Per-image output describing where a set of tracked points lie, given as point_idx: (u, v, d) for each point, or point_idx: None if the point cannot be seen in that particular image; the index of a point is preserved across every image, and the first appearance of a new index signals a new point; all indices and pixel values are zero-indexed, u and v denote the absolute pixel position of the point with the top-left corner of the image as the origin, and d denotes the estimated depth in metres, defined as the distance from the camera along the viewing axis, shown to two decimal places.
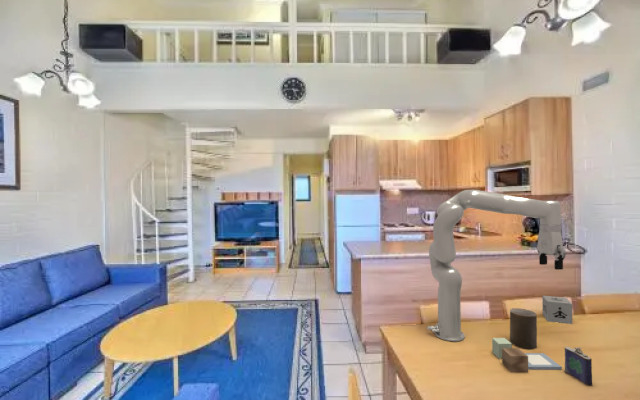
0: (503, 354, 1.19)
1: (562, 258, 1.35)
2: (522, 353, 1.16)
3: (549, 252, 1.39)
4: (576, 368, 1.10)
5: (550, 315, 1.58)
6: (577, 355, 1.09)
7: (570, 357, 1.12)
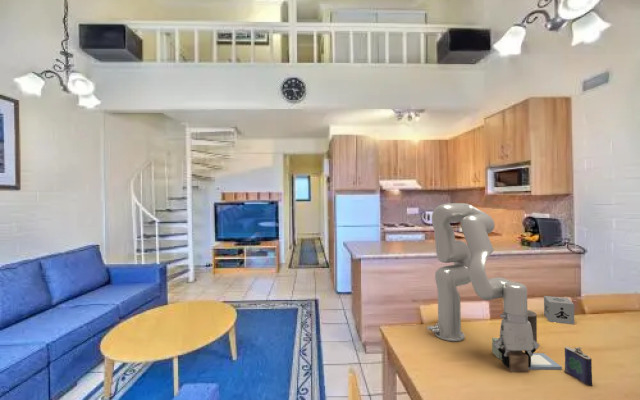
0: None
1: None
2: (522, 353, 1.16)
3: (529, 347, 1.14)
4: (576, 368, 1.10)
5: (552, 316, 1.57)
6: (577, 355, 1.09)
7: (570, 357, 1.12)
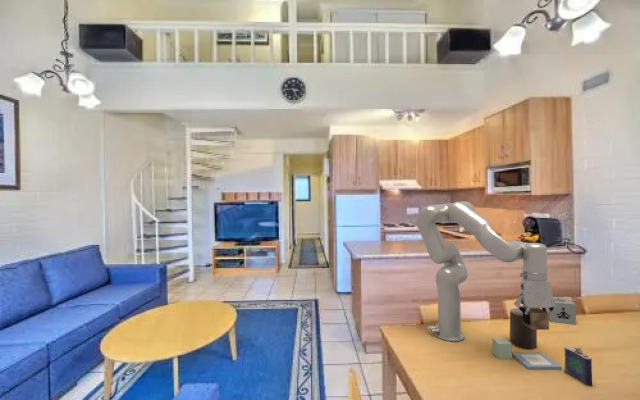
0: None
1: None
2: (543, 311, 1.19)
3: (549, 305, 1.17)
4: (576, 368, 1.10)
5: (554, 316, 1.57)
6: (577, 355, 1.09)
7: (570, 357, 1.12)
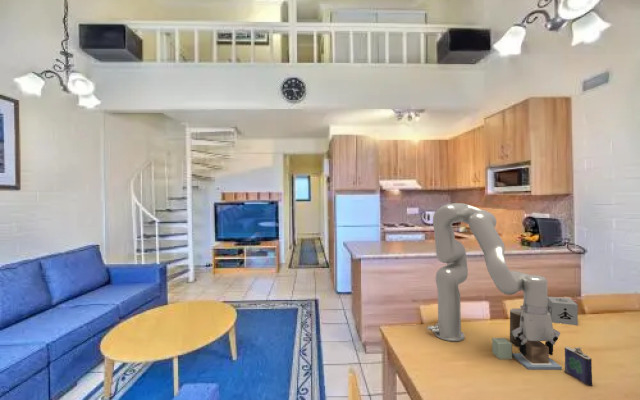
0: None
1: None
2: (543, 344, 1.20)
3: (549, 338, 1.18)
4: (576, 368, 1.10)
5: (556, 316, 1.56)
6: (577, 355, 1.09)
7: (570, 357, 1.12)
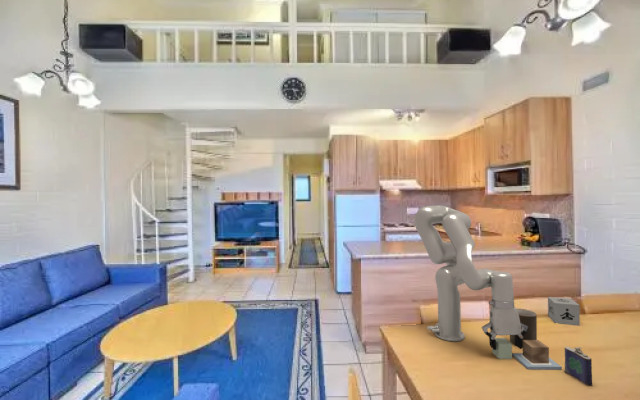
0: (524, 346, 1.23)
1: None
2: (543, 344, 1.20)
3: (517, 332, 1.22)
4: (576, 368, 1.10)
5: (558, 317, 1.56)
6: (577, 355, 1.09)
7: (570, 357, 1.12)
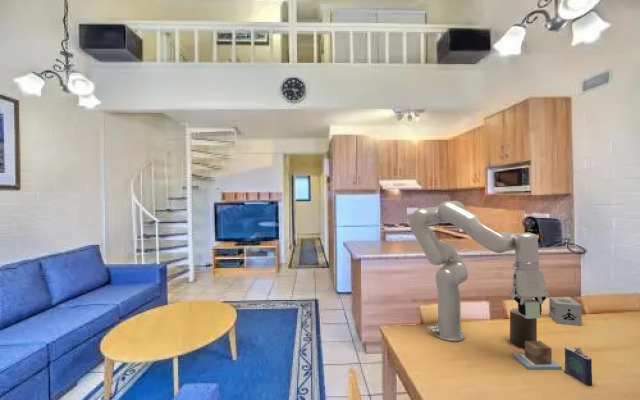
0: (526, 347, 1.22)
1: None
2: (545, 345, 1.19)
3: (542, 294, 1.18)
4: (576, 368, 1.10)
5: (559, 317, 1.55)
6: (577, 355, 1.09)
7: (570, 357, 1.12)
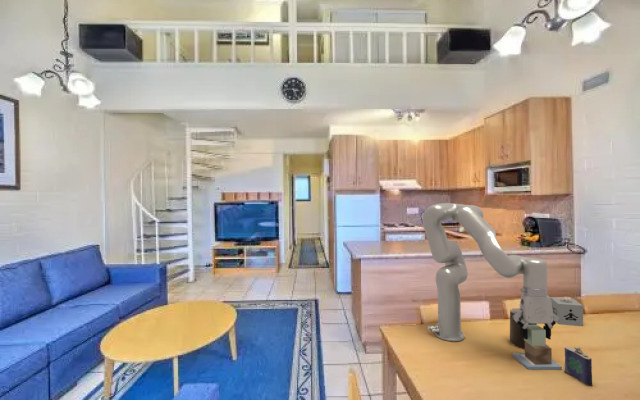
0: (526, 347, 1.22)
1: None
2: None
3: (549, 320, 1.18)
4: (576, 368, 1.10)
5: (561, 318, 1.54)
6: (577, 355, 1.09)
7: (570, 357, 1.12)
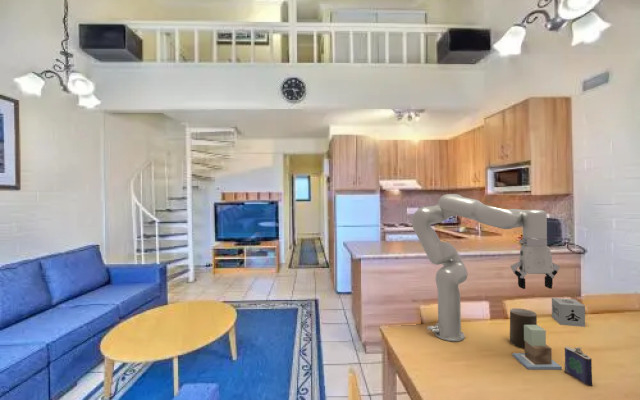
0: (526, 347, 1.22)
1: None
2: None
3: (549, 270, 1.17)
4: (576, 368, 1.10)
5: (563, 318, 1.54)
6: (577, 355, 1.09)
7: (570, 357, 1.12)
